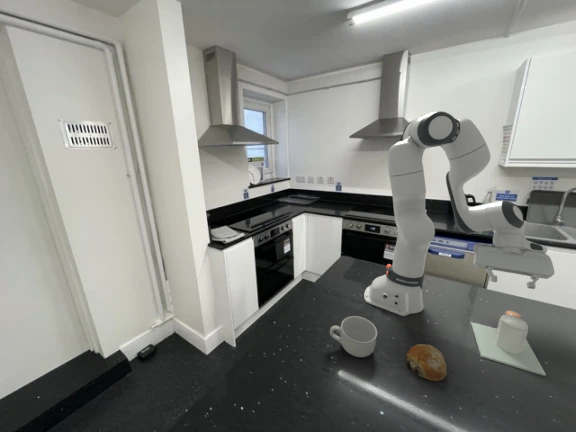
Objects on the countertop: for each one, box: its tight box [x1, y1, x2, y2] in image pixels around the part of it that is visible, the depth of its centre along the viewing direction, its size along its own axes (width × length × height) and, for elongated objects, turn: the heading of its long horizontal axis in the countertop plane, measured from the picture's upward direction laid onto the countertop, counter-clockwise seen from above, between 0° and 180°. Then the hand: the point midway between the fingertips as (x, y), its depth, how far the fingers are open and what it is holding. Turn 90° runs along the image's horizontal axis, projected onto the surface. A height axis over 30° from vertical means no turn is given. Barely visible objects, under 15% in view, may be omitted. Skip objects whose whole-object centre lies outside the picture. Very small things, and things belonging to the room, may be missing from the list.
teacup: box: [329, 315, 378, 358], centre depth 75 cm, size 14×11×8 cm
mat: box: [471, 322, 547, 377], centre depth 75 cm, size 14×16×1 cm
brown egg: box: [504, 310, 522, 319], centre depth 86 cm, size 4×4×3 cm
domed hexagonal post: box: [494, 314, 529, 354], centre depth 73 cm, size 6×6×9 cm
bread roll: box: [405, 343, 448, 382], centre depth 68 cm, size 10×10×8 cm
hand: (512, 284), depth 79 cm, fingers open, 8 cm apart
